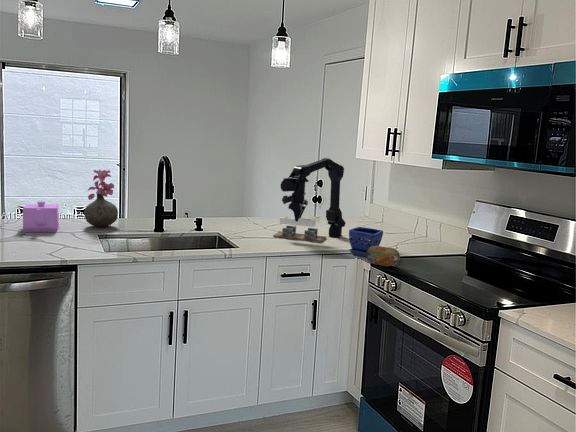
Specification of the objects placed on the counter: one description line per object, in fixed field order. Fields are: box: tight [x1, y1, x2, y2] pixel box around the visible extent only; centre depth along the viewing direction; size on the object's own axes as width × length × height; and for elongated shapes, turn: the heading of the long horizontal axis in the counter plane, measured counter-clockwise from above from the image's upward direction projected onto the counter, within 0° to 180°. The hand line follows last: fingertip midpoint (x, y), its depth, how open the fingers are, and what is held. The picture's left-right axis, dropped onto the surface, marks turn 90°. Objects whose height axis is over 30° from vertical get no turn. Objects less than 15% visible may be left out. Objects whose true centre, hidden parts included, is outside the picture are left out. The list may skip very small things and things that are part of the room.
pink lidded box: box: [22, 200, 60, 233], centre depth 267 cm, size 15×25×14 cm, turn 20°
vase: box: [84, 169, 119, 229], centre depth 281 cm, size 17×17×30 cm
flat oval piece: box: [365, 245, 401, 268], centre depth 240 cm, size 15×3×8 cm, turn 62°
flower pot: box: [348, 226, 384, 257], centre depth 258 cm, size 13×13×12 cm
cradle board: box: [272, 224, 327, 243], centre depth 288 cm, size 26×12×5 cm, turn 76°
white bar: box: [279, 216, 317, 228], centre depth 278 cm, size 18×4×3 cm, turn 77°
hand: (297, 220), depth 278 cm, fingers closed on white bar, 4 cm apart
